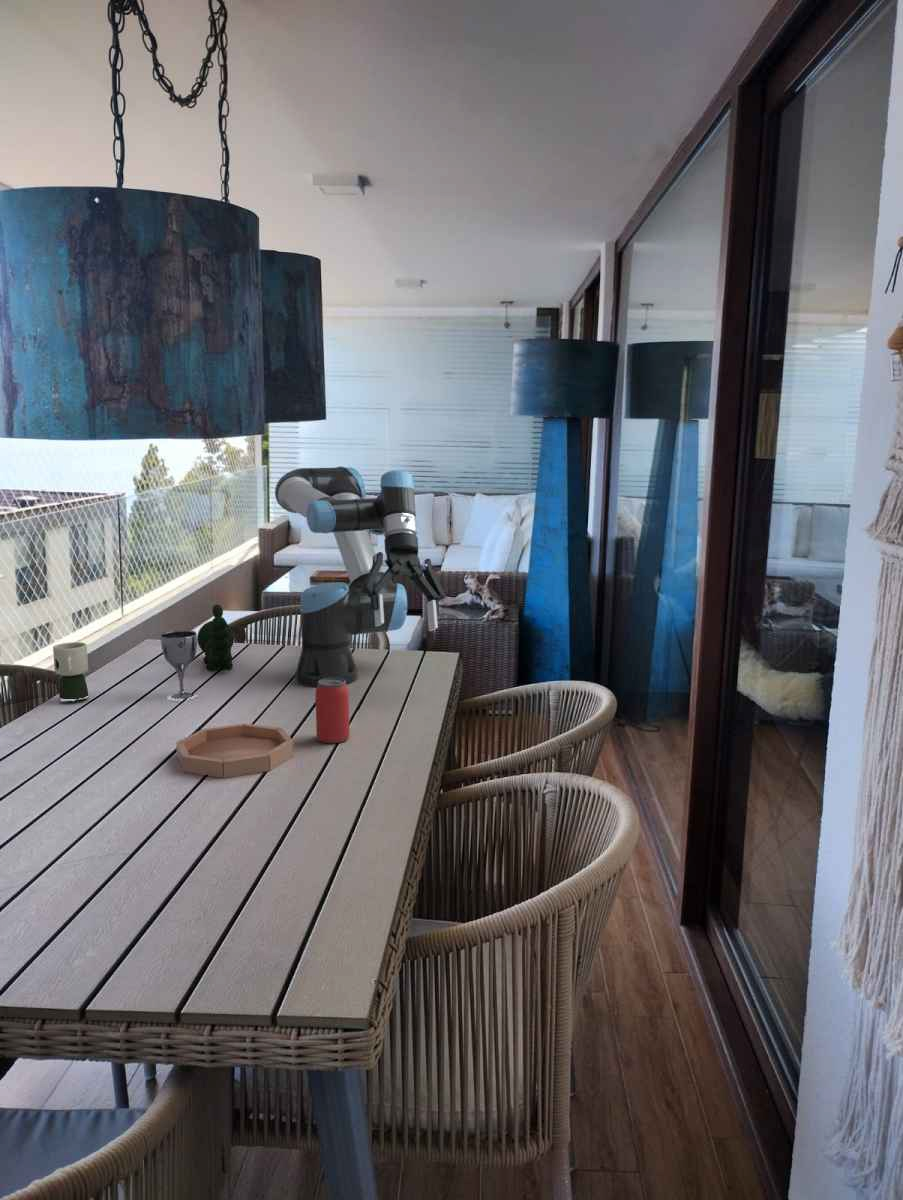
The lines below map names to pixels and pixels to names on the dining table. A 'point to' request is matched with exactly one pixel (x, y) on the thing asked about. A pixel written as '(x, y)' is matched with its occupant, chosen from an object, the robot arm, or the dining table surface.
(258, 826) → the dining table surface
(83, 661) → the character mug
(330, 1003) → the dining table surface
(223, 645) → the toy figurine
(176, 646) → the wine glass
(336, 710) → the beer can
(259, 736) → the terracotta saucer
